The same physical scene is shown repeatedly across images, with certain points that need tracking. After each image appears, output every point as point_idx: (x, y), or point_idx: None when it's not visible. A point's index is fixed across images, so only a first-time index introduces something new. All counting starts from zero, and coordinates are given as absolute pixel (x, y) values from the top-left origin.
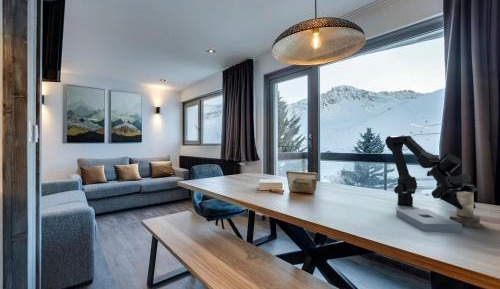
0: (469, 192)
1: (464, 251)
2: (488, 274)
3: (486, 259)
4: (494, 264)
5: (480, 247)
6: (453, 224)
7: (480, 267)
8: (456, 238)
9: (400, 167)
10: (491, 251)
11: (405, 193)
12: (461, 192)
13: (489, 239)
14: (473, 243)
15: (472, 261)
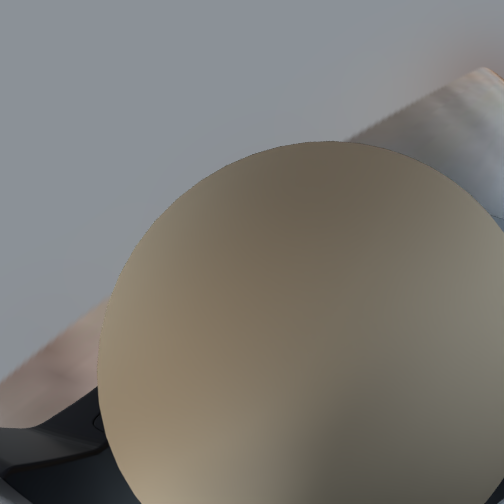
0: (127, 374)
1: (500, 120)
2: (491, 70)
3: (473, 86)
4: (469, 74)
5: (455, 117)
6: (496, 218)
7: (495, 81)
8: (490, 182)
9: None
10: (441, 96)
11: None
12: (449, 414)
13: (376, 143)
14: (459, 138)
15: (500, 94)
